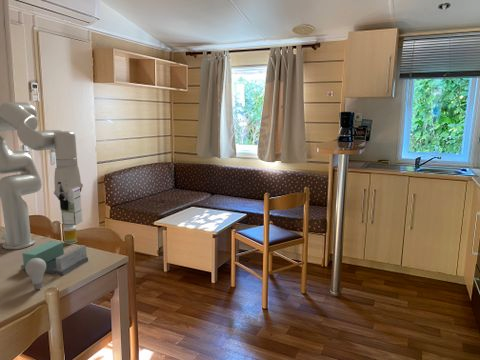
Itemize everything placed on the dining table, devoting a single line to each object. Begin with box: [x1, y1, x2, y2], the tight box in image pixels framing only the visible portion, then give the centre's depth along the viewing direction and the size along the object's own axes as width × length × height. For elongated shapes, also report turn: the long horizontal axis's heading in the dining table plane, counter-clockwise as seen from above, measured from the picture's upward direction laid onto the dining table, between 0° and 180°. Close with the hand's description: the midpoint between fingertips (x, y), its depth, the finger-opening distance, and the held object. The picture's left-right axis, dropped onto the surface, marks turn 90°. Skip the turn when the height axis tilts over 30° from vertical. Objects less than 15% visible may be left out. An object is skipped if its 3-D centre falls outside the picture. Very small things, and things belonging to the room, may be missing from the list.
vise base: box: [20, 244, 89, 276], centre depth 143 cm, size 19×14×6 cm
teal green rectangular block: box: [22, 240, 65, 266], centre depth 144 cm, size 6×14×5 cm, turn 165°
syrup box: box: [60, 187, 84, 226], centre depth 146 cm, size 6×6×14 cm
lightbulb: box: [25, 258, 46, 290], centre depth 123 cm, size 6×6×11 cm
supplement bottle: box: [62, 225, 78, 245], centre depth 167 cm, size 5×5×10 cm
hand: (70, 207), depth 146 cm, fingers closed on syrup box, 6 cm apart
